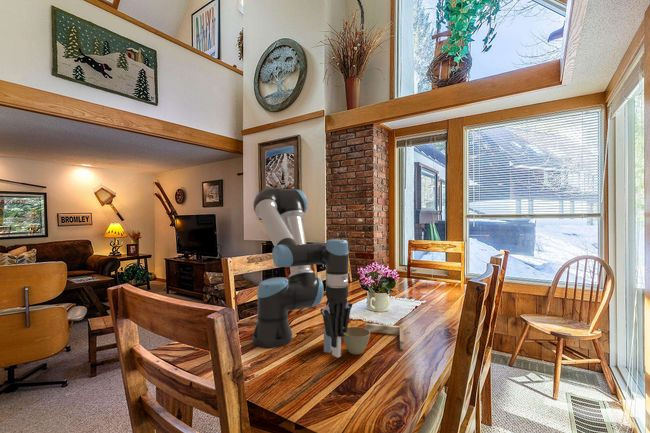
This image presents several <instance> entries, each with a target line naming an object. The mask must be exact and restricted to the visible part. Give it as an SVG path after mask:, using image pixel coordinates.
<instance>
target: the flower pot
mask: <svg viewBox="0 0 650 433" xmlns="http://www.w3.org/2000/svg"><path fill="white" fill-rule="evenodd" d="M344 334H345V336H344V337H342V340H343V343H344V345H345V347H346V349H347V350H348V352H349V353H350V354H352V355H361V354H363V353H364V351H365V350H366V348H367V346H368V344H369V341H370V336H371V332H370V331H369V330H367V329H365V327H362V326H348V328H347V332H346V333H344Z"/></svg>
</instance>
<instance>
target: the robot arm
mask: <svg viewBox="0 0 650 433" xmlns="http://www.w3.org/2000/svg"><path fill="white" fill-rule="evenodd" d="M252 205H253V206H252V207H253V211H254V213H255V215H256V217H257V218H259V219H260V220H261V222H262V224H263V226H264V228H265V231H266V232H267V234H268V236H269V238H270V240H271V243H272V244H273V246H274V247H273V248H272V254H271V255H272V256H271V257H272V263H273V264H274V266H276V267H277V268H289V271H290V274H288V277H284V276H282V277H281V276H279V277H277V276H275V277H271V278H268V279H267V278H266V279H264V280H262V281H261V282H259V284H258V285H257V295H256V297H257V320H256V323H255V327H254V330H253V334H252V343H253V344H254V345H255V346H258V347H259V348H260V347H261V348H279V347H282V346H283V347H284V346H285V345H288V344H289V343H290V342H291V341H292V340H293V333H292V328H291V326H290V323H289V320H288V315H289V311H295V310H301V309H302V310H303V309H310V308H313V307H316V306H319V305H320V303H322V300H323V297H324V284H323V281H322V278H320V277H318V276H317V275H316V272H315V271H313V270H312V269H311V268H312V267H311V266H313V265H315V266H316V265H324V266H325V284H326V286H325V297H326V303H325V305H326V306H325V307H324V308H320V313H321V315H322V319H323V320H322V321H323V326H324V325H325V330H326V335H327V336H329V337H331V346H332V351H331V356H333V357H335V358H337V359H338V358H340V357H342V345H343V337H344V336H345V334H344V333H346V332H347V328H348V327H349V321H350V320H349V319H350V316H351V315H350V314H351V310H352V308H353V303H352V302H351V303H350V302H348V298H349V286H348V284H349V258H350V257H349V256H350V255H349V254H350V250H349V242H348V240H346V239H338V238H337V239H336V238H334V239H327V240H326V243H324V242H313V243H307V240H306V234H305V230H304V223H303V217H304V216H305V213H306V212H307V210H308V209H307V208H308V206H307V205H308V199H307V197H306V194H305V193H304V192H303V191H302V190H301V189H296V188H280V187H279V188H277V187H267V188H265V189H261V191H259V192H258V193H257V194H256V196H255V198H254V200H253V204H252Z"/></svg>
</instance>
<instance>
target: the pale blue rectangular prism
mask: <svg viewBox="0 0 650 433" xmlns="http://www.w3.org/2000/svg"><path fill="white" fill-rule="evenodd" d="M323 353H329V354H330V353H331V354H332V346H331V337H329V336H327V335H326V330H325V325H324V324H323Z"/></svg>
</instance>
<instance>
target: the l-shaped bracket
mask: <svg viewBox="0 0 650 433" xmlns="http://www.w3.org/2000/svg"><path fill="white" fill-rule="evenodd" d="M364 328H365V329H367V330H369V331H370V333H375V334H377V333H379V334H388V335H398V336H399V350H400V351H405V337H404V336H405V335H404V326H400V325H390V324H389V325H388V324H379V323H378V324H377V323H369V322H368V323H367V322H366V323H365V324H364Z"/></svg>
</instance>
